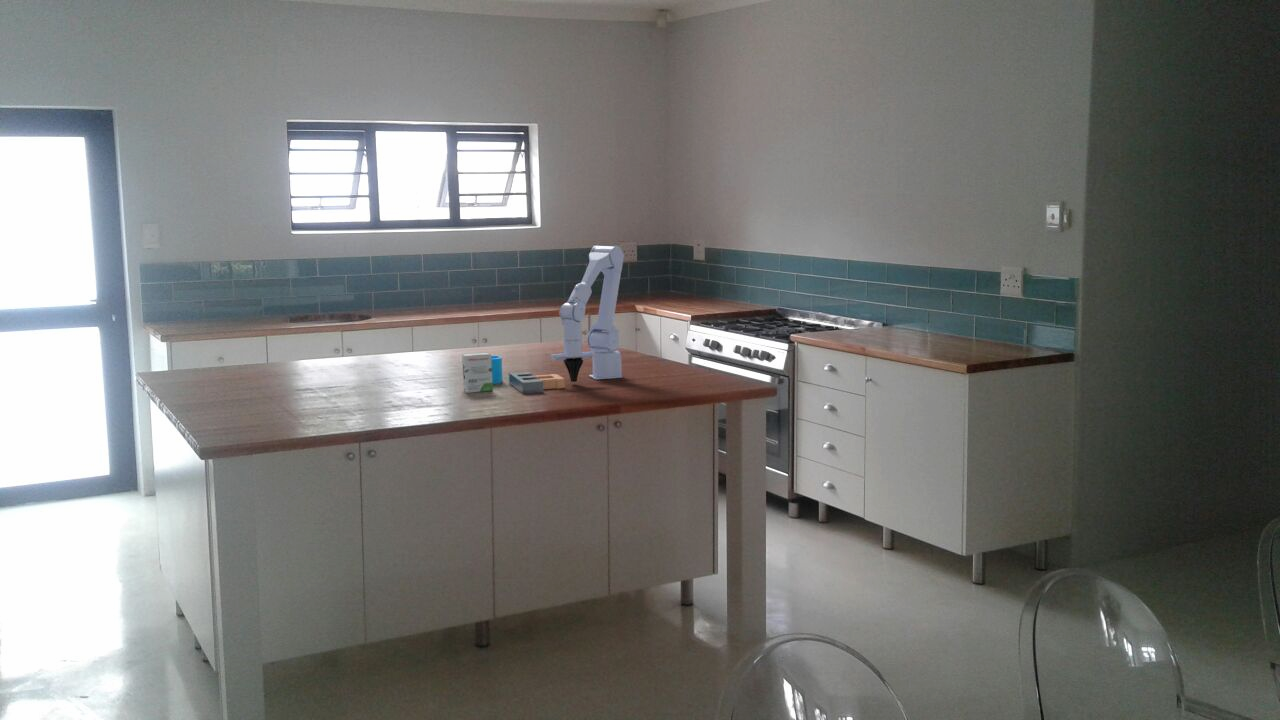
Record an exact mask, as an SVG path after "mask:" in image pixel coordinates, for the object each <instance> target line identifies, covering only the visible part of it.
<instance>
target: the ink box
mask: <svg viewBox="0 0 1280 720" xmlns="http://www.w3.org/2000/svg"><path fill="white" fill-rule="evenodd" d="M491 356H492V354H490V353H488V352H482V353H465V354H461V358H462V359H461V360H462V363H461V364H462V381H463V384H462V385H463V392H465V393H467V394H469V393H479V392H491V391H493V390H494V386H493V385H494V384H493V382H492V361H491Z"/></svg>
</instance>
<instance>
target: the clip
mask: <svg viewBox="0 0 1280 720" xmlns="http://www.w3.org/2000/svg"><path fill="white" fill-rule="evenodd" d="M535 376H536V377H537V379H540V380H542V381H543V390H550V389H565V386H566V385H565V378H564V377H562V376H561V375H559V374H557V373H551V374H538V375H535Z"/></svg>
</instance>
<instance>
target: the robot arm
mask: <svg viewBox="0 0 1280 720" xmlns="http://www.w3.org/2000/svg"><path fill="white" fill-rule="evenodd" d="M624 257H625V254H624V252H623V250H622V248H621V247H620V246H618V245H593V247H592V248H591V250H590V252H589V254H588V260H589V262H588V265H587V267H586V270H585V272H584V274H583V277H582V280H581V282H579V283H577V284H576V285H575V286H574V288H573V290H572V292H571V294H570V296H569V298H568V300H567V302H565V303H564V304H562V305H561V307H560V309H559V312H558V314H559V318H560V319H561V324H562V326H563V352H562V353H556V354H555V353H554V354H550V361H552V362H556V361H563V364H564V365H565V367H566V369H567V371H568V374H569V379H570V382H572V383H576V382H578V376H579V373H580V370H581V367H582V365H583V363H584V359H592V374H589V375H588V377H590V378H592V379H594V380H606V379H607V380H609V379H610V380H611V379H620V378H623V376H622V373H623V372H622V371H623V369H622V368H623V367H622V355H621V352H620V351H619V350H617V349H618V346H619V345H620V344H619V343H620V336H619V331H620V330H619V329H618V328H617V326H616V325H615V324H614V319H615V314H616V313H615V312H616V308H617V306H616V305H617V301H618V295H619V289H620V287H619V286H620V282H621V281H620V280H621V274H622V271H623V264H624ZM601 273H602V274H603V283H602V289H601V295H600V302H599V308H598V312H597V313H598V314H597V321H595V322H594V323H593V324H592V325H591V326H590V328H589V332H588V334H587V337H586V345H587V347H588V348H589V350H590V351H583V350H582V349H583V348H582V347H583V346H582V345H583V344H582V340H583V339H582V321H583V319H584V318H585V315H586V306H587V303H588V301H589V300H590V297H591V295H592V293H593V292H592V286H593V284H594V283H595V281H596V279H597V278H598V276H599V274H601Z"/></svg>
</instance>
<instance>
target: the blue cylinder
mask: <svg viewBox="0 0 1280 720" xmlns="http://www.w3.org/2000/svg"><path fill="white" fill-rule="evenodd" d="M502 359H503V357H502V356H501V355H491V361H492V382H493V385H494V384H501V383H503V360H502Z"/></svg>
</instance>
